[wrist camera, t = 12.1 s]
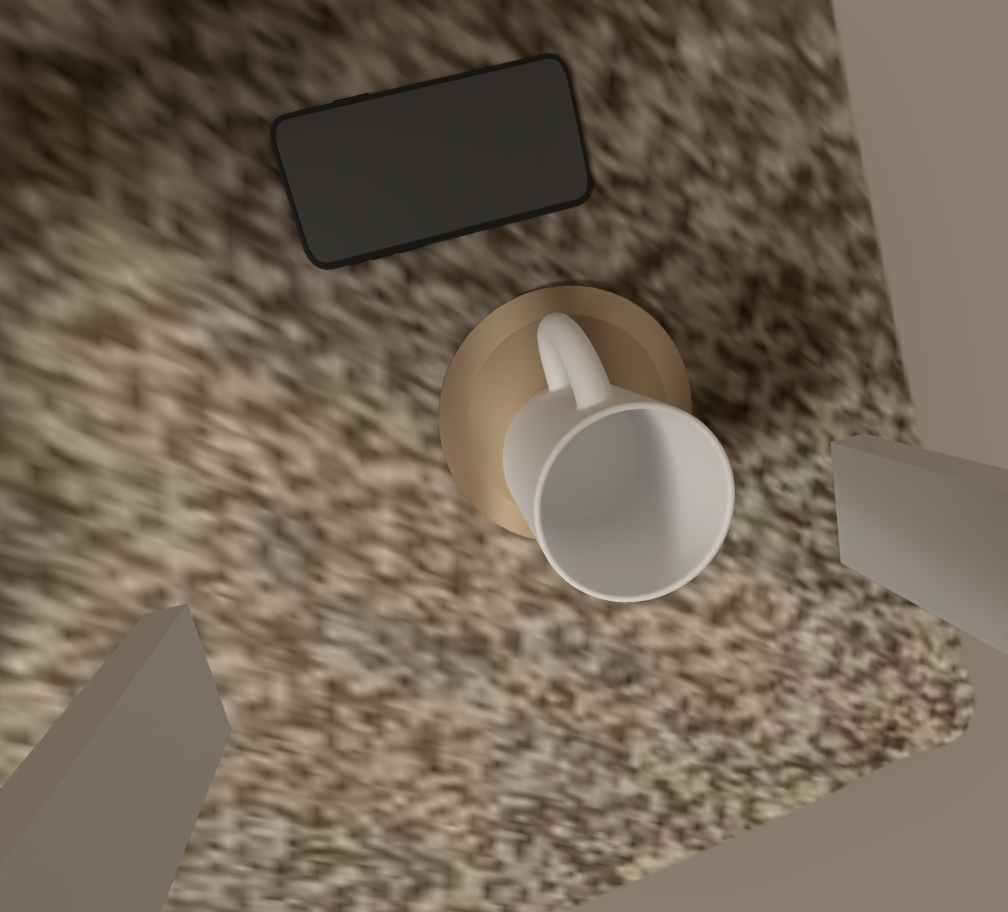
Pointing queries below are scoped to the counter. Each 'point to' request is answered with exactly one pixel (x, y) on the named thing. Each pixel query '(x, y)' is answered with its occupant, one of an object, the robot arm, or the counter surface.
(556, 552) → the mug
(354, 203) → the smartphone
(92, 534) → the counter surface
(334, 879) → the counter surface
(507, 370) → the coaster
